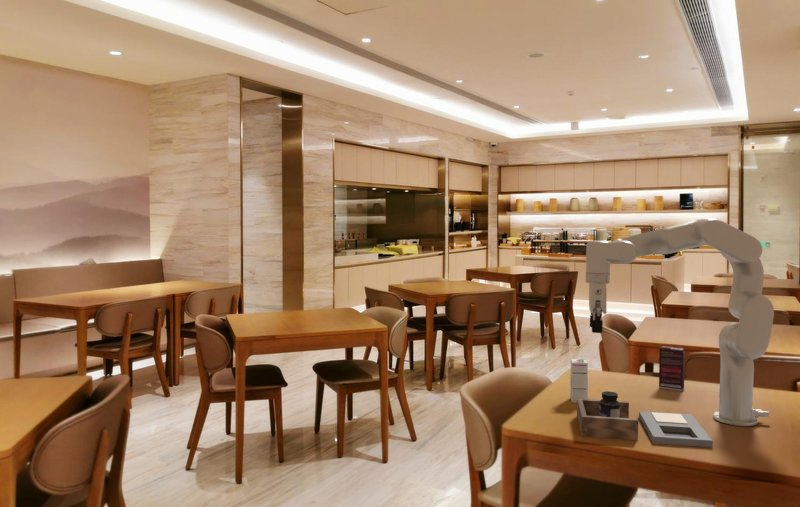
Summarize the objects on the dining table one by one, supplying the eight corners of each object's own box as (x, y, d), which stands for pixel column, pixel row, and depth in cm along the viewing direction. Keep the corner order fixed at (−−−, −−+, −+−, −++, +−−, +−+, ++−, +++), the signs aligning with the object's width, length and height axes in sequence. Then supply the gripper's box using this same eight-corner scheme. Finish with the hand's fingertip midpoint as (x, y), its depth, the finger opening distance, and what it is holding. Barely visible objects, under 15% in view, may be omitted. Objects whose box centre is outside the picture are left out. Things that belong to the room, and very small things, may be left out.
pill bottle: (594, 425, 195) (595, 391, 194) (611, 423, 197) (611, 389, 196) (606, 432, 189) (607, 396, 188) (623, 430, 191) (624, 395, 190)
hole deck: (691, 420, 200) (691, 413, 200) (712, 447, 177) (712, 439, 176) (638, 417, 203) (639, 410, 203) (653, 443, 180) (653, 435, 180)
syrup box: (588, 403, 218) (588, 362, 217) (570, 402, 219) (571, 362, 219) (586, 398, 224) (587, 359, 223) (569, 397, 225) (570, 358, 224)
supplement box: (684, 388, 237) (685, 348, 236) (682, 391, 232) (683, 350, 231) (660, 385, 241) (661, 345, 240) (658, 388, 237) (659, 347, 236)
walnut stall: (627, 419, 201) (628, 401, 200) (637, 440, 182) (638, 420, 182) (576, 416, 204) (577, 398, 204) (581, 436, 185) (581, 416, 185)
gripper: (612, 281, 193) (610, 335, 194) (607, 276, 210) (605, 326, 211) (587, 280, 195) (585, 334, 196) (584, 275, 211) (582, 324, 212)
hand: (595, 329), depth 203 cm, fingers open, 9 cm apart
